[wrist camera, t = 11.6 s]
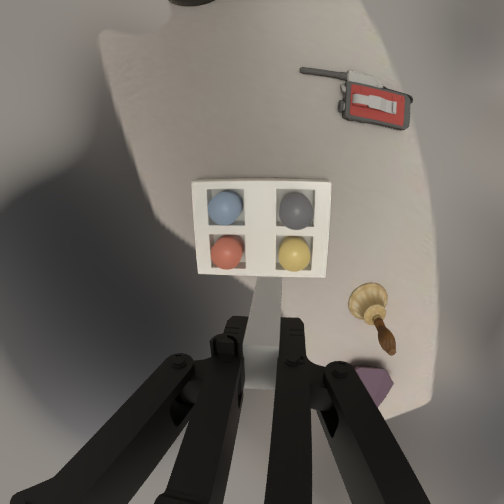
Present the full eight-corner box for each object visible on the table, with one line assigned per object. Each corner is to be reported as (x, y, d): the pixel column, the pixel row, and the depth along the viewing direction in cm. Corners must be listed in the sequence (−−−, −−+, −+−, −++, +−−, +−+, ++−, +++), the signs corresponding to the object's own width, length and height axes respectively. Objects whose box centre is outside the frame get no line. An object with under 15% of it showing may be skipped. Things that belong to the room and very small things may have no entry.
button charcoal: (279, 191, 44) (279, 195, 40) (311, 192, 43) (314, 196, 39) (279, 222, 45) (278, 229, 42) (310, 223, 45) (313, 230, 41)
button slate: (213, 190, 47) (206, 193, 43) (242, 189, 46) (239, 193, 42) (214, 219, 48) (208, 225, 45) (243, 219, 48) (240, 225, 44)
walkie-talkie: (409, 88, 38) (299, 66, 39) (420, 84, 34) (301, 58, 35) (407, 133, 41) (296, 113, 43) (418, 133, 37) (297, 110, 38)
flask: (358, 406, 64) (368, 467, 45) (310, 388, 62) (312, 456, 44) (402, 367, 58) (426, 430, 39) (355, 343, 56) (374, 415, 38)
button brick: (215, 233, 49) (209, 240, 45) (243, 233, 49) (240, 240, 45) (216, 260, 51) (211, 269, 47) (244, 260, 50) (241, 270, 47)
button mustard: (279, 234, 48) (278, 241, 44) (309, 235, 47) (311, 242, 44) (278, 261, 50) (278, 271, 46) (307, 262, 49) (309, 272, 45)
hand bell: (389, 281, 51) (420, 327, 36) (384, 317, 53) (408, 368, 39) (349, 283, 52) (369, 333, 37) (346, 320, 54) (362, 374, 40)
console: (198, 179, 48) (191, 182, 44) (327, 179, 46) (331, 182, 42) (204, 264, 53) (198, 273, 50) (322, 268, 51) (325, 277, 47)
